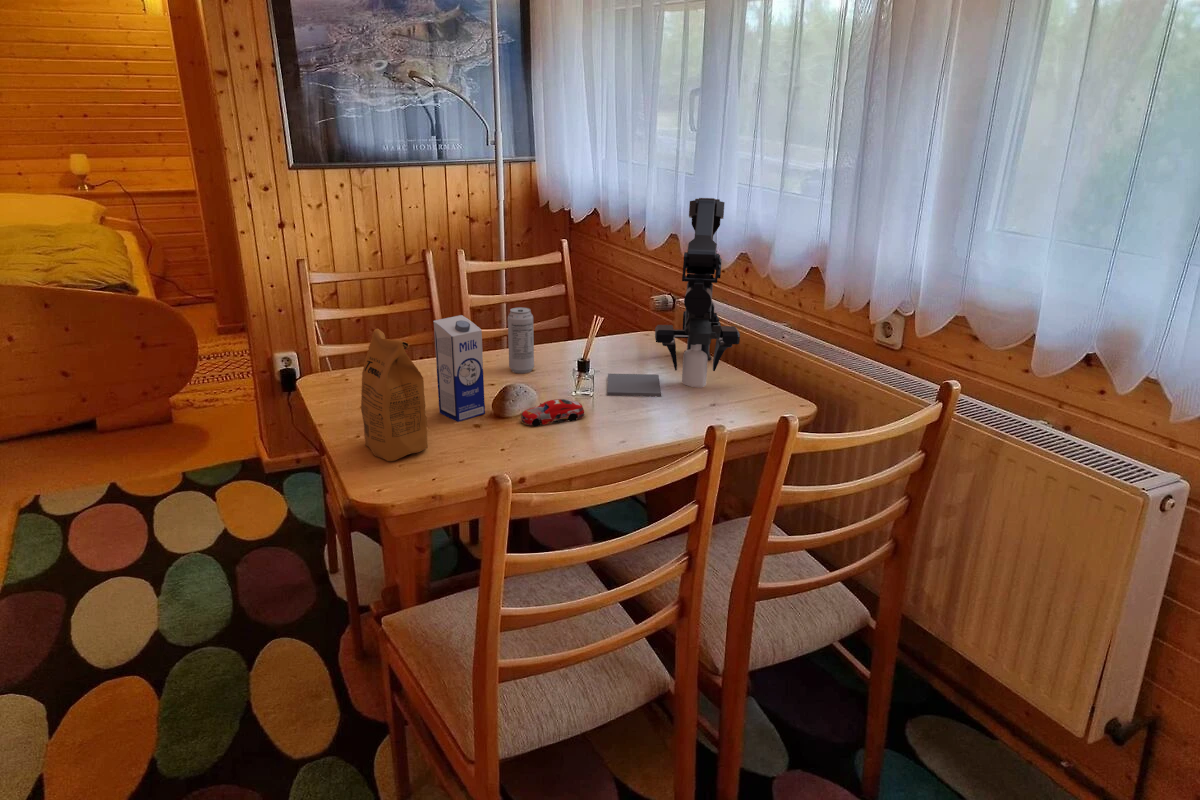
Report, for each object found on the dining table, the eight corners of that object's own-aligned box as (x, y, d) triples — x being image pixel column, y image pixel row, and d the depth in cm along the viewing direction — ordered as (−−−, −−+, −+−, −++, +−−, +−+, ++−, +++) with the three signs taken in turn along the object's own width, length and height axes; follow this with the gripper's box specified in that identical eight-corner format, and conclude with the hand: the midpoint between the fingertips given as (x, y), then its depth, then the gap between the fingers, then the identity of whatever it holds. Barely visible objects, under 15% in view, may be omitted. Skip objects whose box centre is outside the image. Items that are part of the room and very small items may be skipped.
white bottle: (695, 379, 183) (698, 330, 179) (708, 387, 178) (711, 337, 174) (679, 382, 181) (682, 332, 177) (692, 389, 177) (695, 339, 172)
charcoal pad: (607, 376, 184) (608, 373, 184) (658, 377, 184) (658, 374, 184) (607, 395, 172) (607, 392, 172) (661, 396, 172) (661, 393, 172)
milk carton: (466, 405, 166) (462, 313, 159) (485, 413, 161) (482, 320, 154) (438, 413, 161) (432, 319, 154) (457, 422, 156) (452, 326, 149)
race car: (525, 429, 154) (524, 411, 153) (517, 420, 159) (517, 402, 157) (587, 421, 159) (587, 402, 157) (578, 412, 164) (577, 394, 162)
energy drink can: (533, 366, 191) (532, 306, 186) (534, 373, 186) (533, 312, 180) (508, 366, 190) (507, 307, 185) (509, 374, 185) (507, 313, 180)
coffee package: (406, 431, 152) (398, 322, 144) (435, 453, 143) (427, 337, 135) (357, 443, 146) (345, 330, 138) (383, 466, 137) (372, 347, 129)
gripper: (658, 312, 166) (655, 381, 171) (746, 313, 165) (740, 382, 171) (656, 300, 176) (653, 365, 182) (738, 301, 176) (733, 367, 181)
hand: (694, 370), depth 179 cm, fingers closed on white bottle, 8 cm apart
